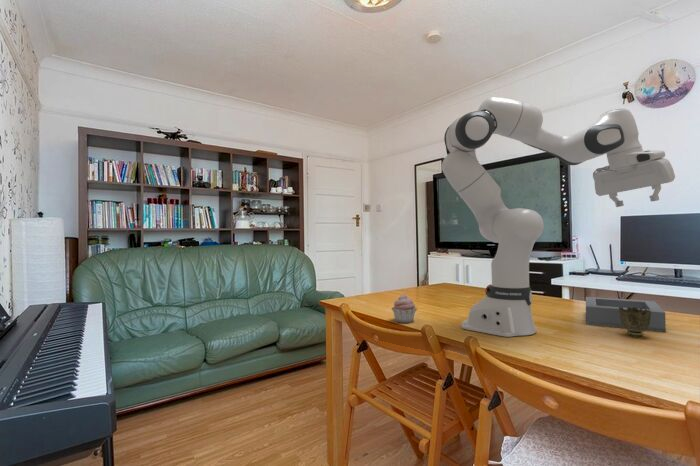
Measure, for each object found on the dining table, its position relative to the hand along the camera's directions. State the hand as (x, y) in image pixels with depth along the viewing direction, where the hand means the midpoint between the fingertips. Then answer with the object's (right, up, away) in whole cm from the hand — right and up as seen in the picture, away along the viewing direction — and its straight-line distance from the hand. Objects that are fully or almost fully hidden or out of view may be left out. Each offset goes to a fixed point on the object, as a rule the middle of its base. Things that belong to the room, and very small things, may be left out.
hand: (636, 203), depth 108 cm
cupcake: (-70, -42, +19) cm, 83 cm away
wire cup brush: (-5, -40, -6) cm, 41 cm away
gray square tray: (+4, -40, +11) cm, 41 cm away
